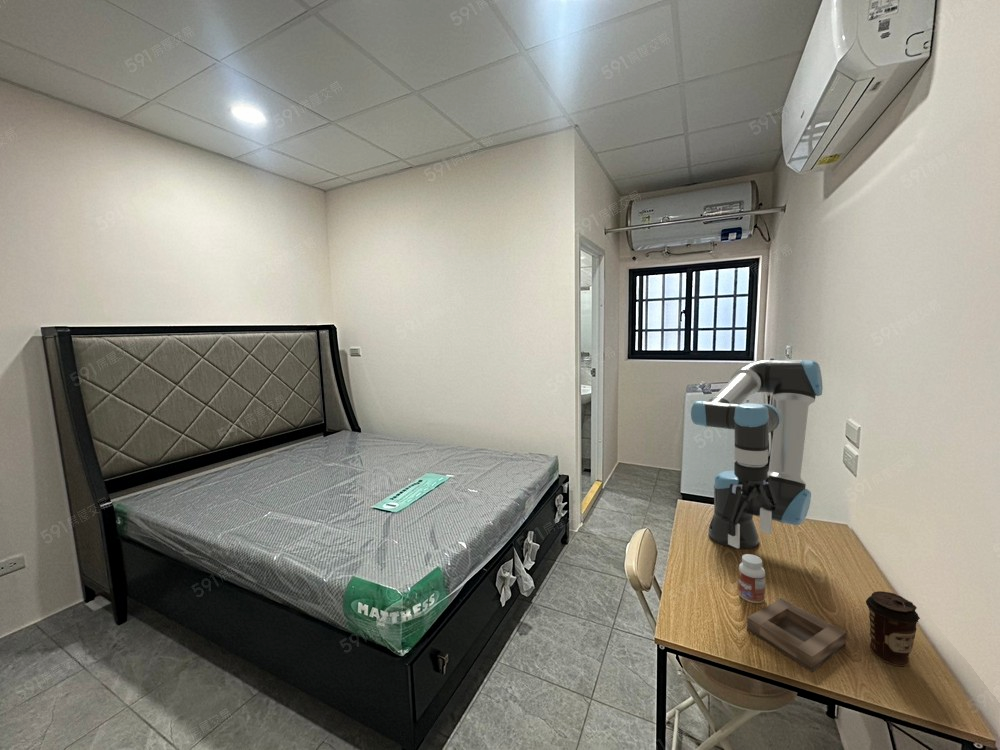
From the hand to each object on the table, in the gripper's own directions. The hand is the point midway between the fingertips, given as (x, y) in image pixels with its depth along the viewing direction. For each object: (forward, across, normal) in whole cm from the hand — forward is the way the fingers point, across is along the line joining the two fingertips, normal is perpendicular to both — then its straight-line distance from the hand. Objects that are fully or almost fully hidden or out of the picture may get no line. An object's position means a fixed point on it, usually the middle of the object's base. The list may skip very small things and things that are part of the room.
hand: (750, 539), depth 109 cm
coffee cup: (+17, -7, +27) cm, 33 cm away
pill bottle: (+17, 0, 0) cm, 17 cm away
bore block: (+17, +6, +14) cm, 23 cm away
